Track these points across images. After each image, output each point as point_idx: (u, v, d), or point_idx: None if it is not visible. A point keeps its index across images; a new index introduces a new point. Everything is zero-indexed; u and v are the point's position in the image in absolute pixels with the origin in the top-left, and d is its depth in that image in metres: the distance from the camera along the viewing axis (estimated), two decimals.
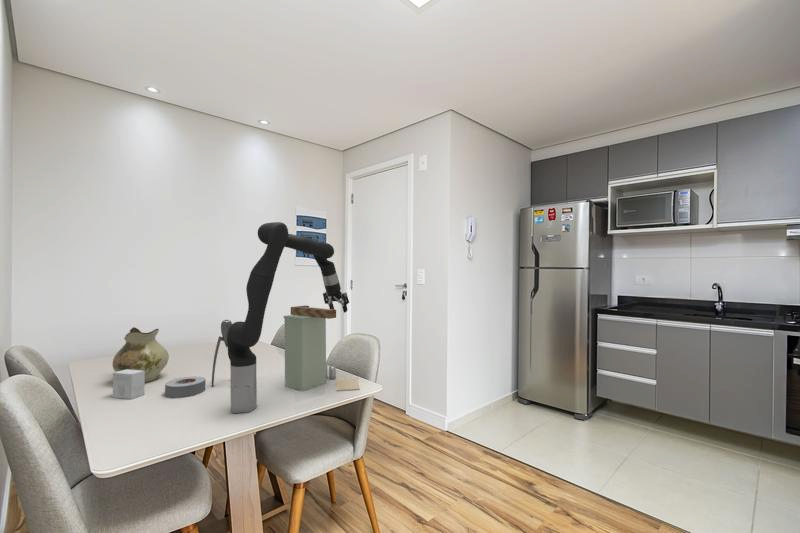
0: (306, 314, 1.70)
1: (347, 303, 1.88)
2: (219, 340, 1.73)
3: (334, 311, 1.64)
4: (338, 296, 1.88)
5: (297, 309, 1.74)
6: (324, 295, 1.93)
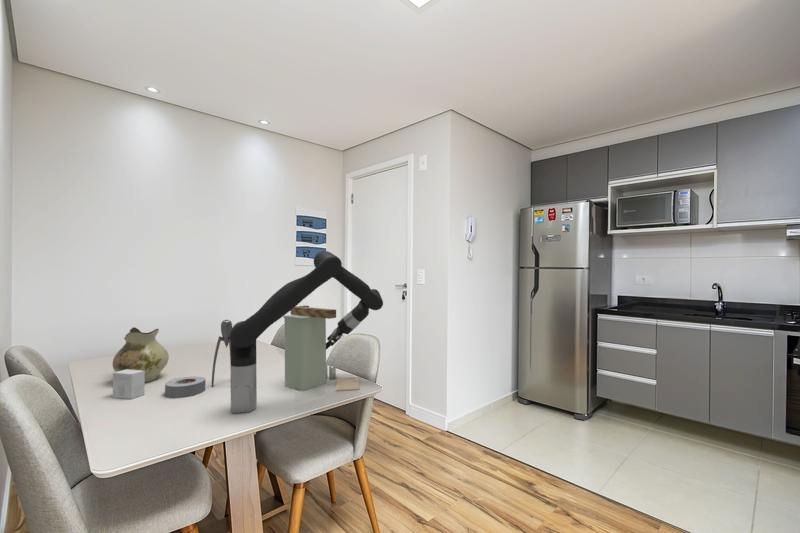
0: (306, 314, 1.70)
1: (330, 343, 1.74)
2: (219, 340, 1.73)
3: (334, 311, 1.64)
4: (336, 333, 1.77)
5: (297, 309, 1.74)
6: None
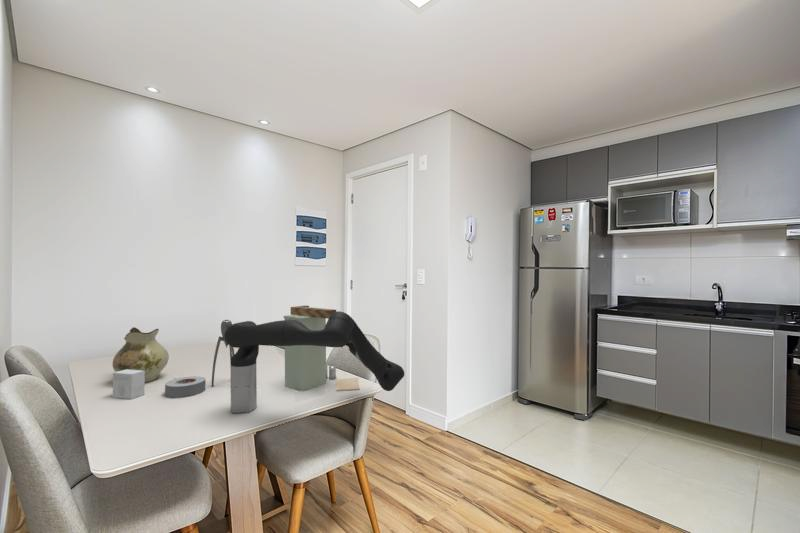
0: (306, 314, 1.70)
1: None
2: (219, 340, 1.73)
3: (334, 311, 1.64)
4: None
5: (297, 309, 1.74)
6: None
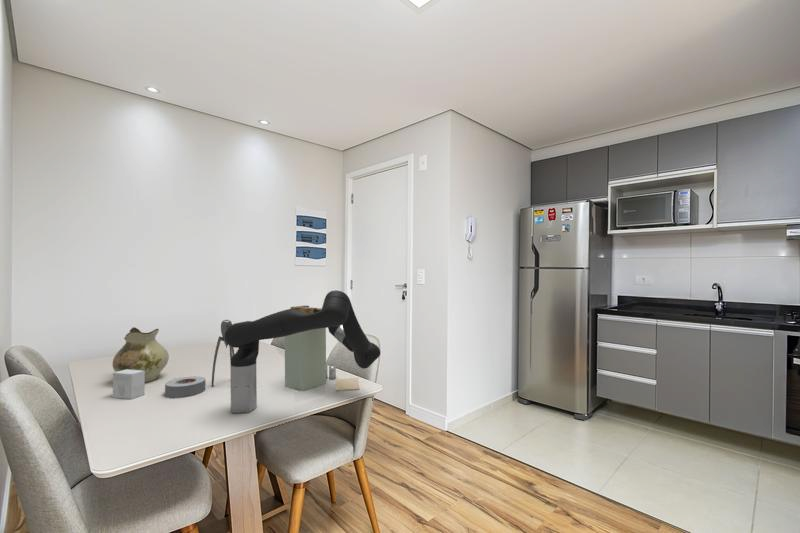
0: None
1: None
2: (219, 340, 1.73)
3: None
4: None
5: (297, 309, 1.74)
6: None
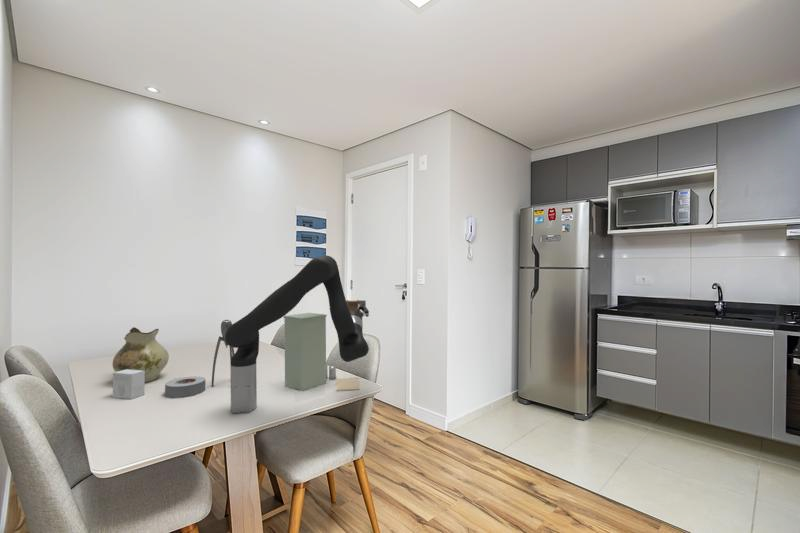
0: None
1: None
2: (219, 340, 1.73)
3: (355, 303, 1.58)
4: None
5: None
6: (366, 310, 1.59)
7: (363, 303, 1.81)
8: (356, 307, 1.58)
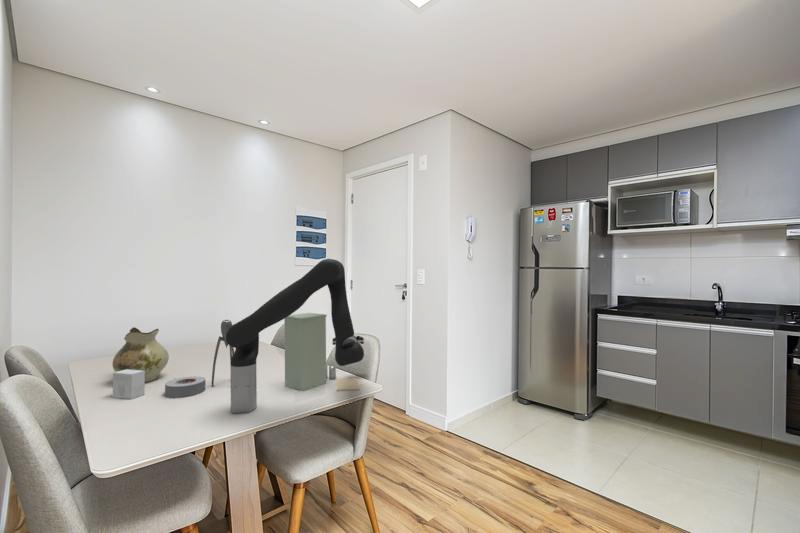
0: None
1: None
2: (219, 340, 1.73)
3: None
4: None
5: None
6: (361, 337, 1.64)
7: None
8: None
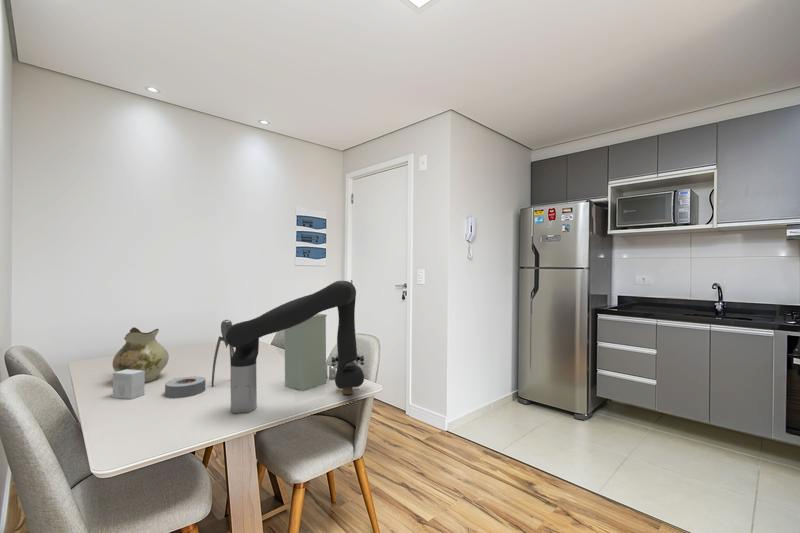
0: None
1: None
2: (219, 340, 1.73)
3: None
4: None
5: None
6: (361, 358, 1.63)
7: None
8: (351, 391, 1.59)
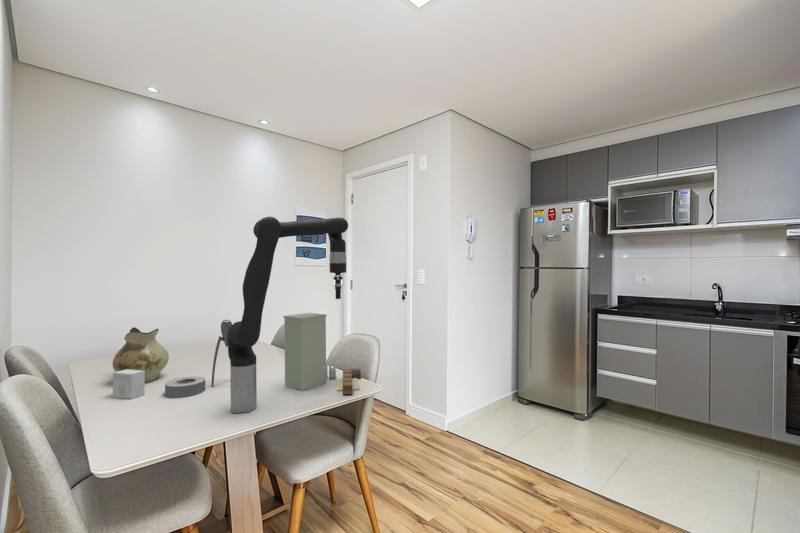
0: None
1: (337, 288, 1.63)
2: (219, 340, 1.73)
3: (350, 387, 1.59)
4: None
5: None
6: None
7: (358, 373, 1.82)
8: (351, 391, 1.59)
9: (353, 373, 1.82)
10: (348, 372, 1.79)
